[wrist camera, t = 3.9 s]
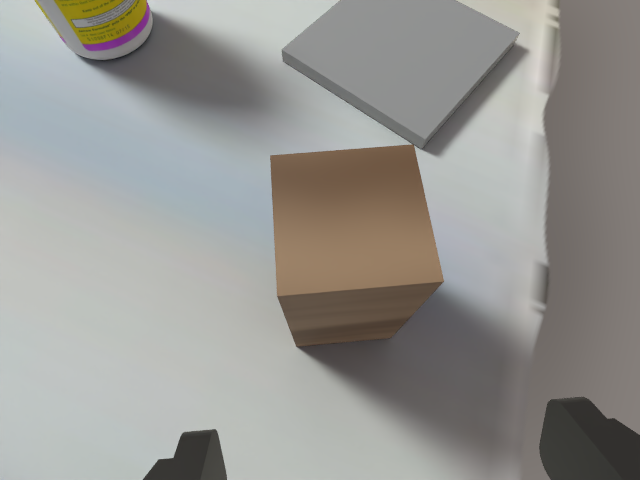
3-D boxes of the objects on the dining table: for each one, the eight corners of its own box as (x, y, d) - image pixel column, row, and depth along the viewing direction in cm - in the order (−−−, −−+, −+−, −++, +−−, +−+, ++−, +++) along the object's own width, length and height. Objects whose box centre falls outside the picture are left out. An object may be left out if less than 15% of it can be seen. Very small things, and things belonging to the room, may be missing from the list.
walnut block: (390, 338, 21) (444, 281, 12) (296, 346, 21) (277, 296, 12) (377, 250, 23) (413, 144, 14) (290, 257, 23) (270, 155, 14)
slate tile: (421, 149, 26) (425, 139, 25) (282, 61, 29) (281, 49, 28) (513, 44, 30) (519, 33, 29) (381, -24, 33) (383, -37, 32)
